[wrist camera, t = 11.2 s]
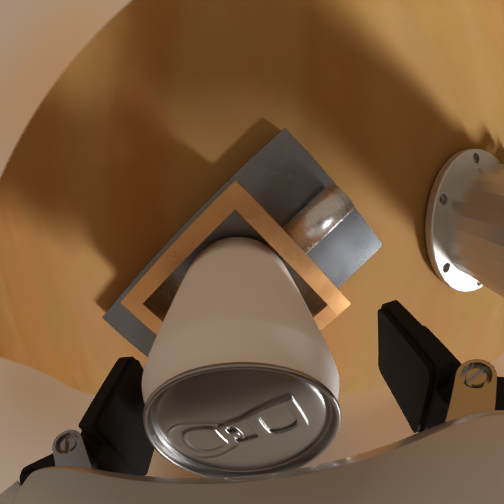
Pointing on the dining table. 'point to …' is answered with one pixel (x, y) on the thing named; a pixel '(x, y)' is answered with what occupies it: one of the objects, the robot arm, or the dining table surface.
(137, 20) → the dining table surface
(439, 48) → the dining table surface
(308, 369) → the can
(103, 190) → the dining table surface
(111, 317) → the base
